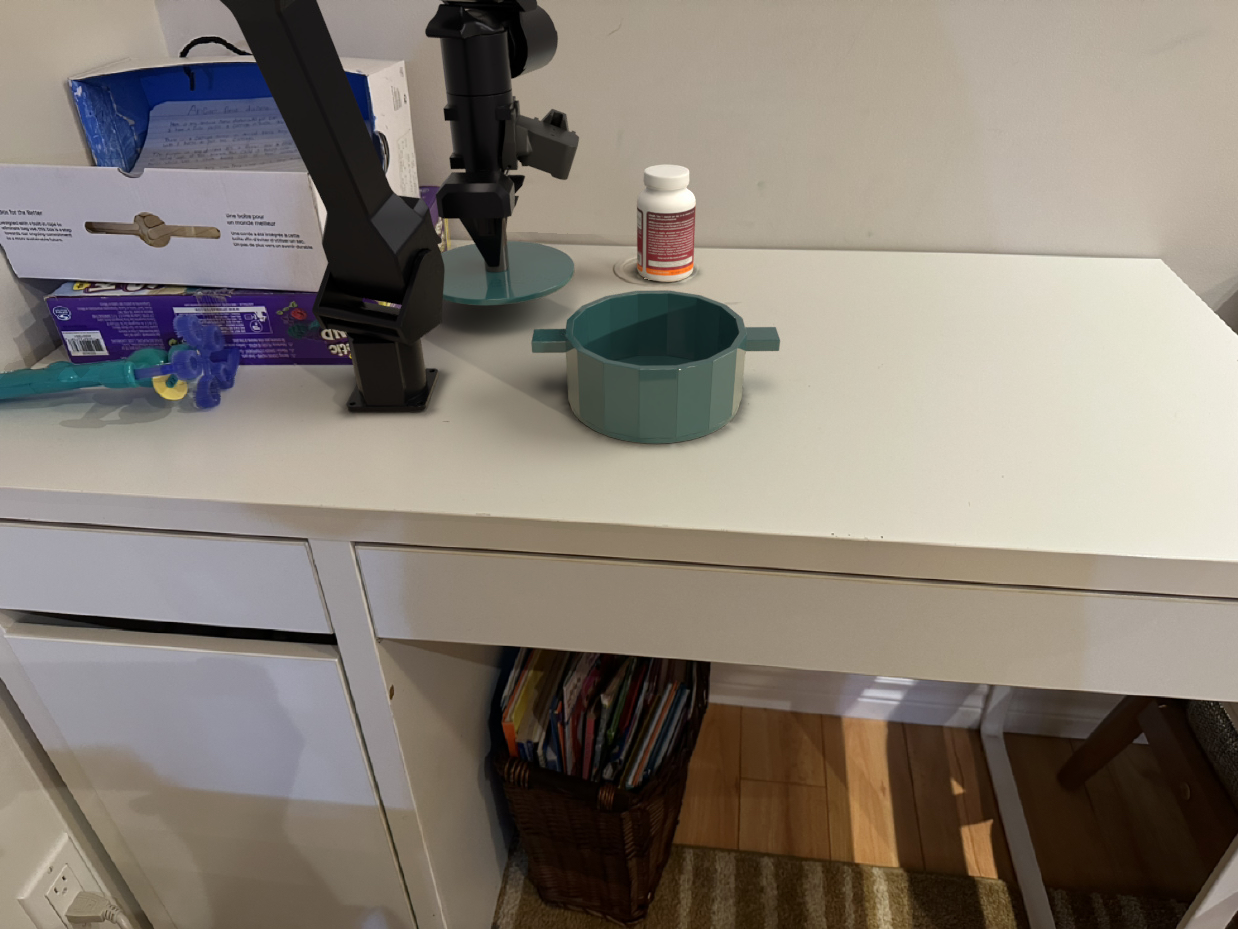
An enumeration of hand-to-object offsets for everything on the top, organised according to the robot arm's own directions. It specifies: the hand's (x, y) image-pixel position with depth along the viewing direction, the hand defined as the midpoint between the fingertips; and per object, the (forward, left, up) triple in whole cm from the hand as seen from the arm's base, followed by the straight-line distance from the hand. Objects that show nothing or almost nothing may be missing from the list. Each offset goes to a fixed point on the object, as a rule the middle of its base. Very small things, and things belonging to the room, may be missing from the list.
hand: (495, 261), depth 82 cm
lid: (0, 0, -1) cm, 1 cm away
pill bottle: (+9, -17, -5) cm, 20 cm away
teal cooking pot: (-18, -15, -5) cm, 24 cm away
